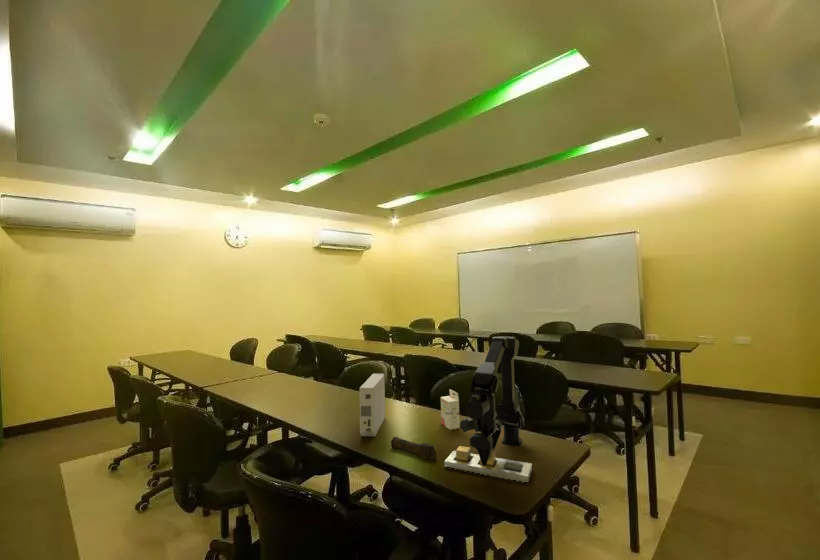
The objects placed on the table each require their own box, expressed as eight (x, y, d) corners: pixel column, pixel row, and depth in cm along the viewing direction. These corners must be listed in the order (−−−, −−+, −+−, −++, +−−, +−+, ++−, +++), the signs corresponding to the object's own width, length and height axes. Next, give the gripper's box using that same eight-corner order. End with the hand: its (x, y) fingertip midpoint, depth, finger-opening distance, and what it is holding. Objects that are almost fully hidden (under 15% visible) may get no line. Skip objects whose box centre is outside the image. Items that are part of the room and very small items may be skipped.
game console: (385, 416, 172) (385, 373, 173) (374, 439, 145) (373, 387, 146) (373, 416, 173) (373, 373, 174) (360, 438, 146) (359, 387, 147)
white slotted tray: (453, 456, 128) (453, 441, 128) (532, 470, 117) (531, 454, 117) (444, 467, 120) (444, 451, 120) (528, 483, 109) (527, 465, 109)
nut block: (483, 465, 121) (482, 446, 121) (495, 467, 119) (495, 448, 119) (480, 470, 117) (479, 451, 118) (492, 472, 116) (492, 453, 116)
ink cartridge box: (440, 423, 161) (439, 389, 162) (450, 422, 163) (449, 388, 163) (449, 430, 153) (448, 394, 154) (460, 428, 155) (459, 393, 155)
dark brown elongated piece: (390, 449, 136) (389, 436, 136) (397, 445, 139) (397, 433, 139) (431, 463, 123) (431, 449, 124) (438, 459, 126) (438, 445, 127)
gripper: (470, 400, 131) (471, 445, 130) (453, 416, 114) (454, 467, 113) (501, 403, 126) (503, 450, 125) (488, 420, 109) (490, 474, 109)
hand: (487, 459), depth 118 cm, fingers open, 9 cm apart
